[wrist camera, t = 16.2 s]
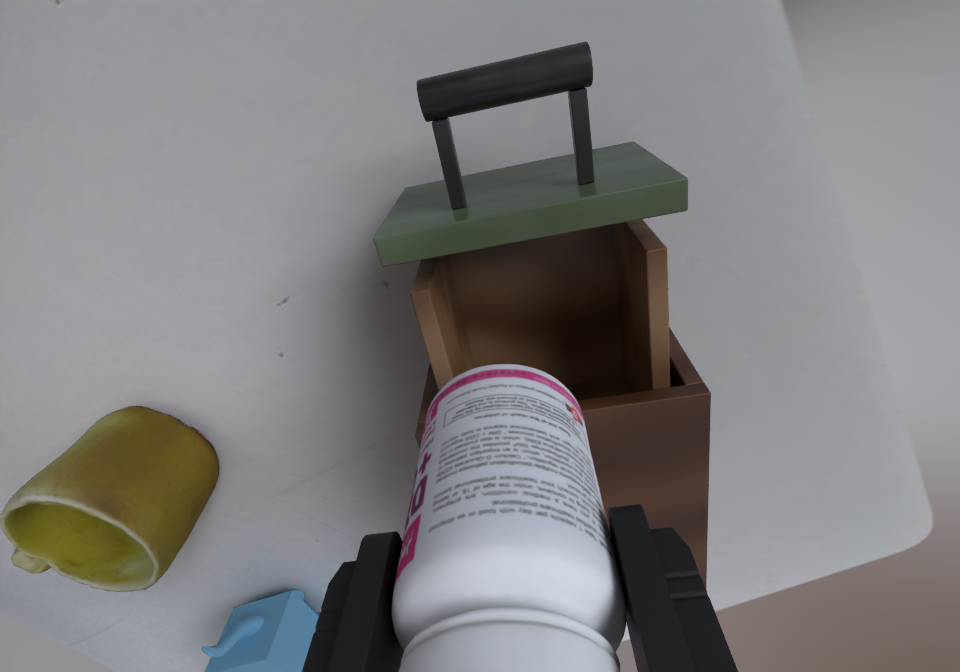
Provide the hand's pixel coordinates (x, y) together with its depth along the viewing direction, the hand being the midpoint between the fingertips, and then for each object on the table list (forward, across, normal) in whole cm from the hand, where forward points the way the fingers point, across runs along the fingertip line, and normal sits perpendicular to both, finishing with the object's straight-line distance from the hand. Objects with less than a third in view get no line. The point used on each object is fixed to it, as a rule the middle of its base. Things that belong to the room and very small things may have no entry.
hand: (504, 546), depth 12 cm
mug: (+19, +28, +11) cm, 35 cm away
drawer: (+18, -2, 0) cm, 18 cm away
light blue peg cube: (+19, +24, +29) cm, 42 cm away
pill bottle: (+5, 0, 0) cm, 5 cm away
